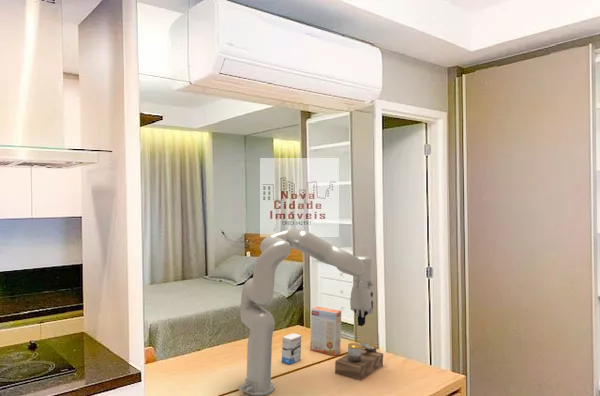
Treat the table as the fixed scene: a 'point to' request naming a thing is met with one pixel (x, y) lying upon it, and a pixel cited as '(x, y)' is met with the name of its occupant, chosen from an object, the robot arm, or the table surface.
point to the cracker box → (325, 330)
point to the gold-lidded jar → (354, 352)
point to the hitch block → (359, 365)
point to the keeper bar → (366, 347)
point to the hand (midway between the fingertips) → (361, 325)
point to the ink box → (291, 348)
